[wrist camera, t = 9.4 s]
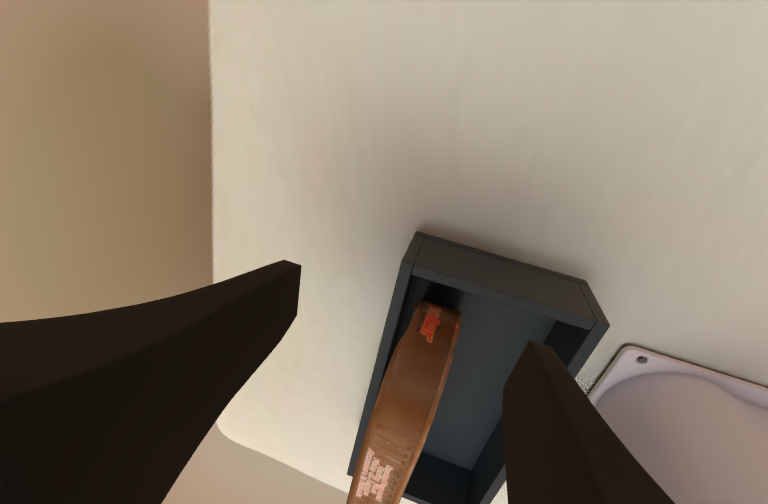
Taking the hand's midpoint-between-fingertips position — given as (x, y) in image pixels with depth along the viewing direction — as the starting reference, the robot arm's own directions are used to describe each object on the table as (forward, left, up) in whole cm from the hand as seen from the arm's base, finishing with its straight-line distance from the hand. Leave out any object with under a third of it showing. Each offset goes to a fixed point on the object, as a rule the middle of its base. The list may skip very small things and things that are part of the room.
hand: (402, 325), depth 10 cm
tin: (-1, +11, -10) cm, 14 cm away
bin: (-4, +11, -10) cm, 15 cm away
